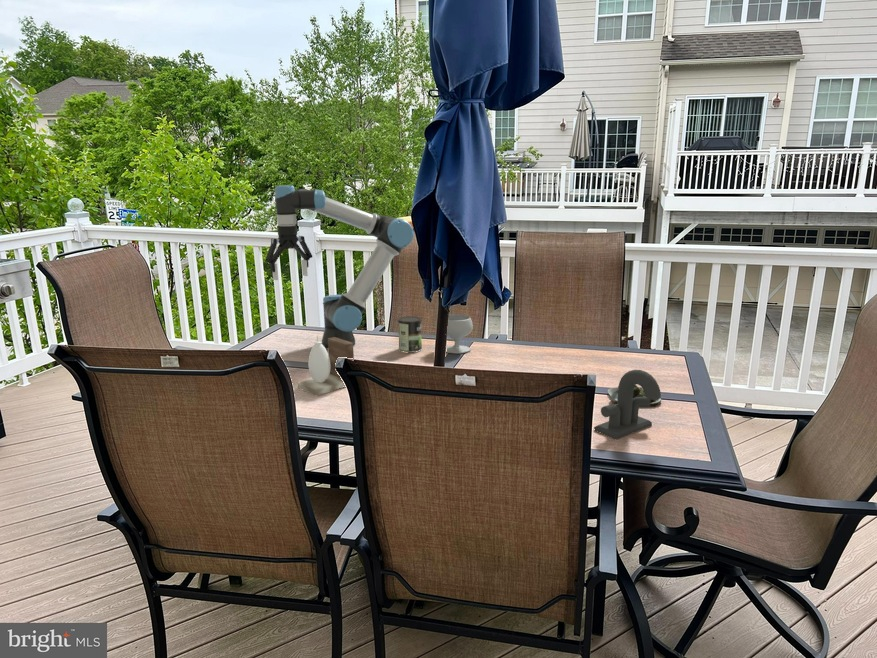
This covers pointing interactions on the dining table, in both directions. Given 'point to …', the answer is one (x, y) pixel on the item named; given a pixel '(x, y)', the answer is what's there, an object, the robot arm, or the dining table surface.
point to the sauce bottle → (319, 362)
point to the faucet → (629, 405)
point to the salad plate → (636, 393)
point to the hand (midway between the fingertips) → (290, 277)
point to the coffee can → (410, 334)
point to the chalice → (458, 332)
